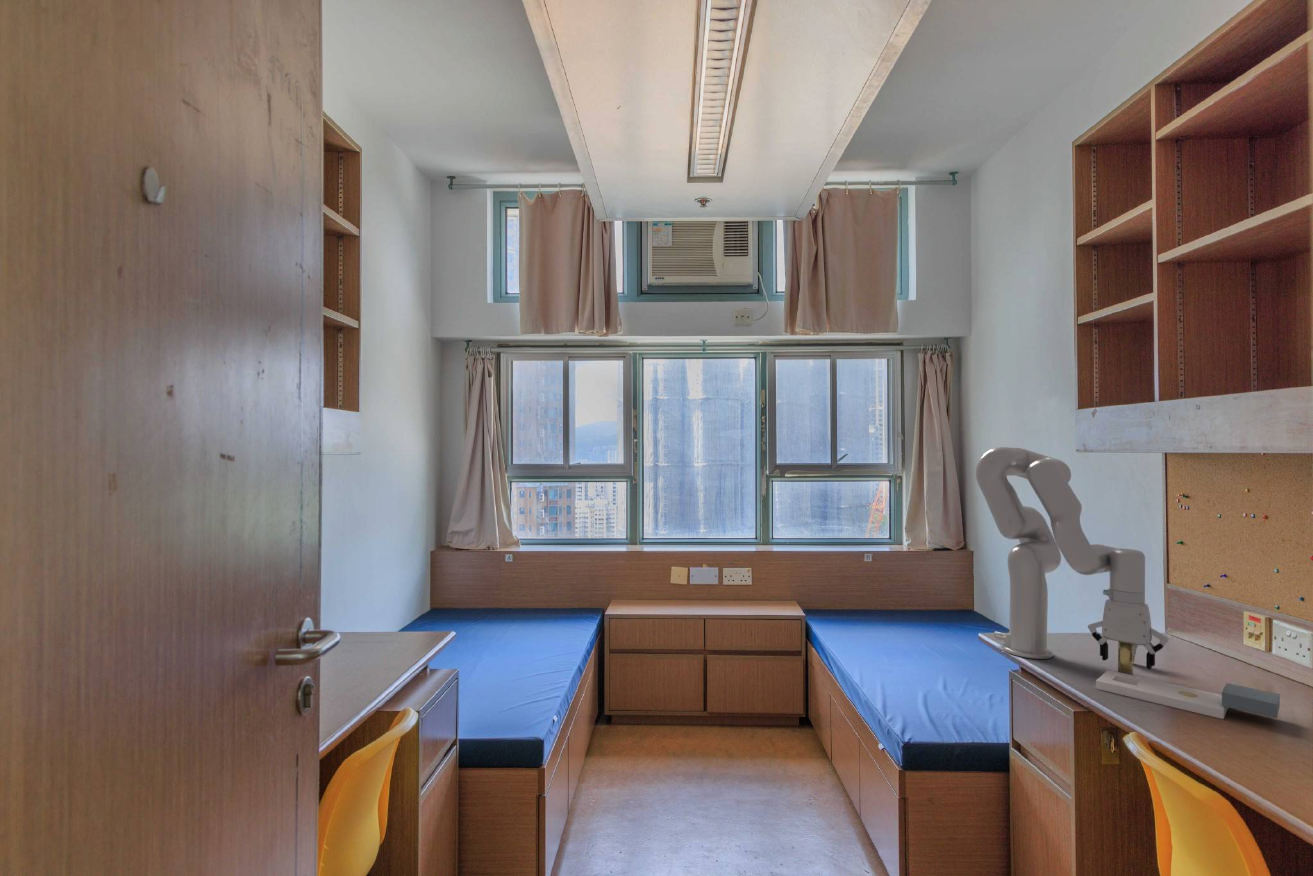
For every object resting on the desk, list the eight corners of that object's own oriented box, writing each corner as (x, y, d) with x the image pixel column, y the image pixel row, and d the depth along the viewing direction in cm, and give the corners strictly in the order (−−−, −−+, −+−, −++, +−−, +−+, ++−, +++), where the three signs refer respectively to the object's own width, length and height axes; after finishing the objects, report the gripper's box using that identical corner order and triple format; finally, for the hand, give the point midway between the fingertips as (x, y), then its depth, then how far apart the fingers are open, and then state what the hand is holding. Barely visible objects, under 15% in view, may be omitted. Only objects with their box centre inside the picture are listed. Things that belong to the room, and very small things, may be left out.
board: (1095, 688, 164) (1096, 680, 164) (1107, 677, 173) (1107, 669, 173) (1223, 719, 147) (1223, 709, 147) (1229, 705, 156) (1229, 696, 156)
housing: (1221, 705, 149) (1221, 692, 149) (1226, 695, 155) (1226, 682, 155) (1276, 718, 142) (1277, 704, 142) (1279, 707, 148) (1279, 694, 148)
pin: (1116, 677, 173) (1117, 642, 173) (1119, 674, 176) (1119, 640, 176) (1131, 680, 171) (1131, 645, 171) (1133, 677, 173) (1134, 642, 173)
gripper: (1084, 593, 177) (1084, 658, 177) (1165, 605, 165) (1165, 675, 164) (1091, 589, 182) (1091, 653, 182) (1171, 600, 170) (1171, 668, 170)
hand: (1126, 663), depth 173 cm, fingers open, 9 cm apart
